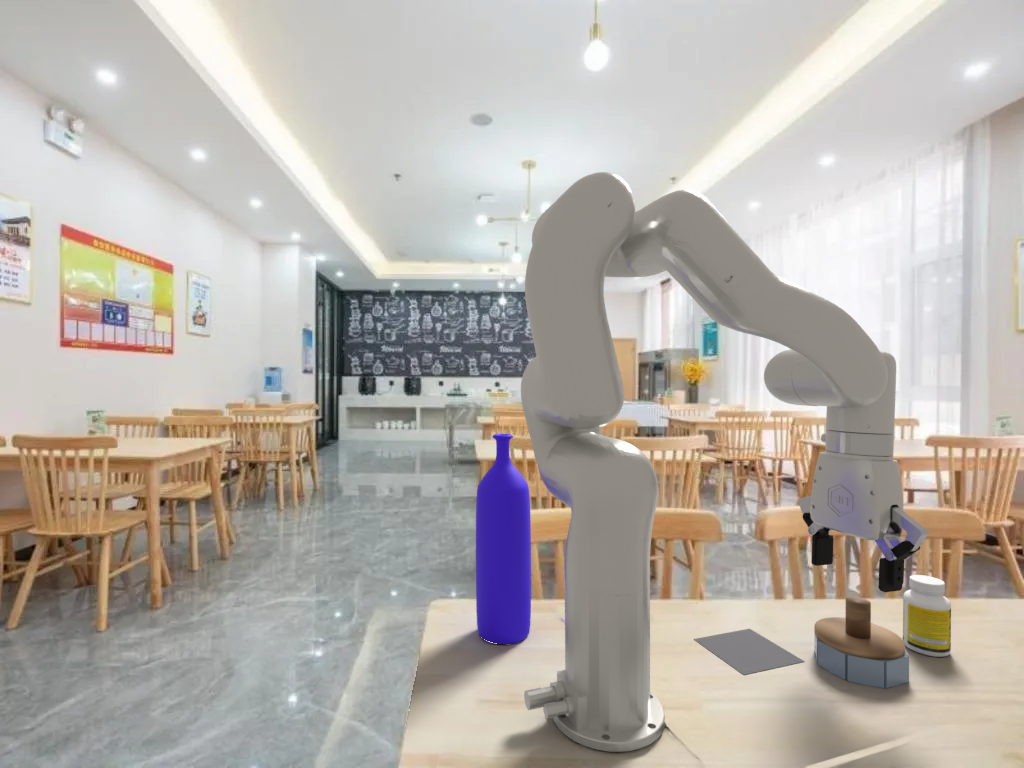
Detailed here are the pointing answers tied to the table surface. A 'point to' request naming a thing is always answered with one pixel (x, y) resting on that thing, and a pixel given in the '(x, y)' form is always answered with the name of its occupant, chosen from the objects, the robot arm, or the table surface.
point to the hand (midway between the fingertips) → (853, 576)
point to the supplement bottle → (927, 617)
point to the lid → (859, 633)
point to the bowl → (863, 667)
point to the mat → (748, 651)
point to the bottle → (503, 551)
